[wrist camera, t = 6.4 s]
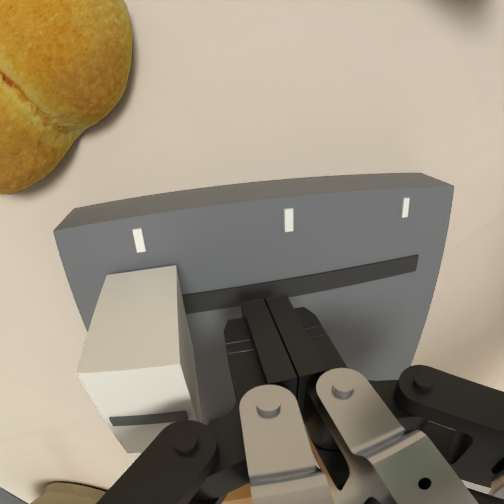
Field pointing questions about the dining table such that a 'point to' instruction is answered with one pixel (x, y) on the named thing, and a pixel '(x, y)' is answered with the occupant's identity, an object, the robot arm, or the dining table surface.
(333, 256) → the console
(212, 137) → the dining table surface
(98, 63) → the bread roll
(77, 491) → the planter bowl
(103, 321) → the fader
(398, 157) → the dining table surface
